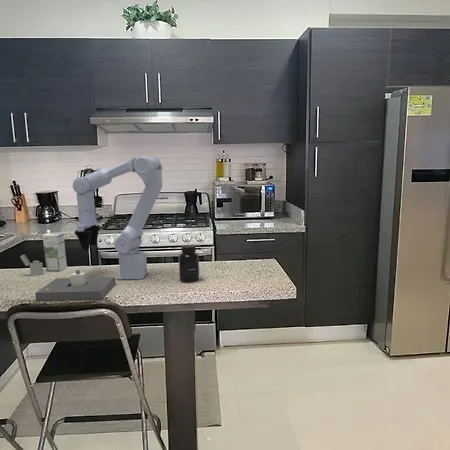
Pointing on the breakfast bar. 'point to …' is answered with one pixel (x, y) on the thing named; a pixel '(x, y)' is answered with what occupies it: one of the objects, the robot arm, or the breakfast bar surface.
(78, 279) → the plug
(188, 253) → the supplement bottle
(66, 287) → the socket block
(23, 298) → the breakfast bar surface
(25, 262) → the lighter
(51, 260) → the syrup box
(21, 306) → the breakfast bar surface
